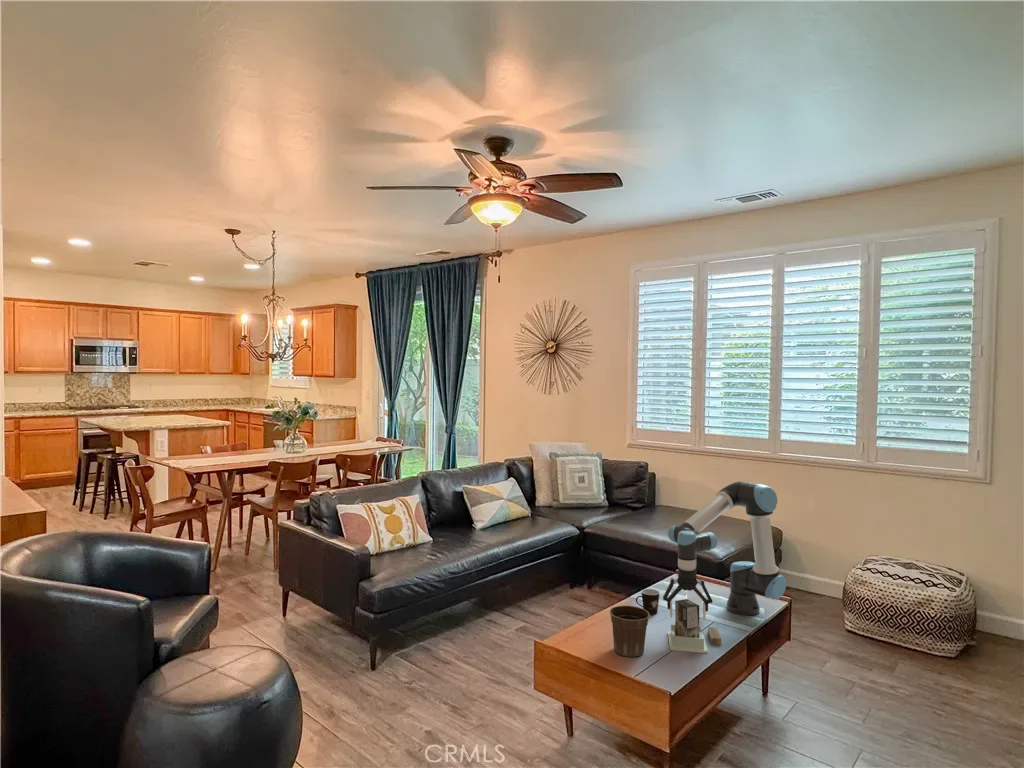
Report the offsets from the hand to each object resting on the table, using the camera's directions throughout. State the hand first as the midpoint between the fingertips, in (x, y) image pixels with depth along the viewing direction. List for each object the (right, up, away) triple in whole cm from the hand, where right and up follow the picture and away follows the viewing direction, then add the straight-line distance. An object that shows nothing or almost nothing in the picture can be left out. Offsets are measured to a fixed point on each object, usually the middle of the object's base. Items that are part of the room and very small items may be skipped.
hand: (687, 617), depth 259 cm
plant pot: (-26, -11, -8) cm, 30 cm away
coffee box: (0, -10, 0) cm, 10 cm away
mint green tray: (0, -11, 0) cm, 11 cm away
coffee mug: (-10, -11, +34) cm, 37 cm away
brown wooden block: (+13, -11, +4) cm, 17 cm away
